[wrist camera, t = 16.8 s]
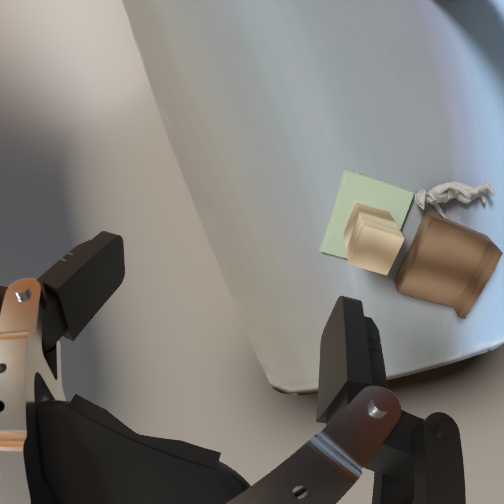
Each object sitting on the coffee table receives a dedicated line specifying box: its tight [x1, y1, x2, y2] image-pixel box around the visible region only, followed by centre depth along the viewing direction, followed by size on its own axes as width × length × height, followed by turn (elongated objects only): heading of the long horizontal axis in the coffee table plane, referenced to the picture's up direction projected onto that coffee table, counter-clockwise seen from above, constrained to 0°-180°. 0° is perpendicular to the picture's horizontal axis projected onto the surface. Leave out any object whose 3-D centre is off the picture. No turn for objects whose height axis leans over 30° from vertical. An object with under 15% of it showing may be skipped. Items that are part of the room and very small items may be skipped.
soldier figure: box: [415, 181, 495, 220], centre depth 32 cm, size 8×5×12 cm
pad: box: [319, 169, 414, 259], centre depth 38 cm, size 12×10×1 cm
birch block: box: [343, 201, 404, 275], centre depth 35 cm, size 5×5×8 cm
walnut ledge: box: [394, 211, 503, 318], centre depth 36 cm, size 12×12×6 cm
